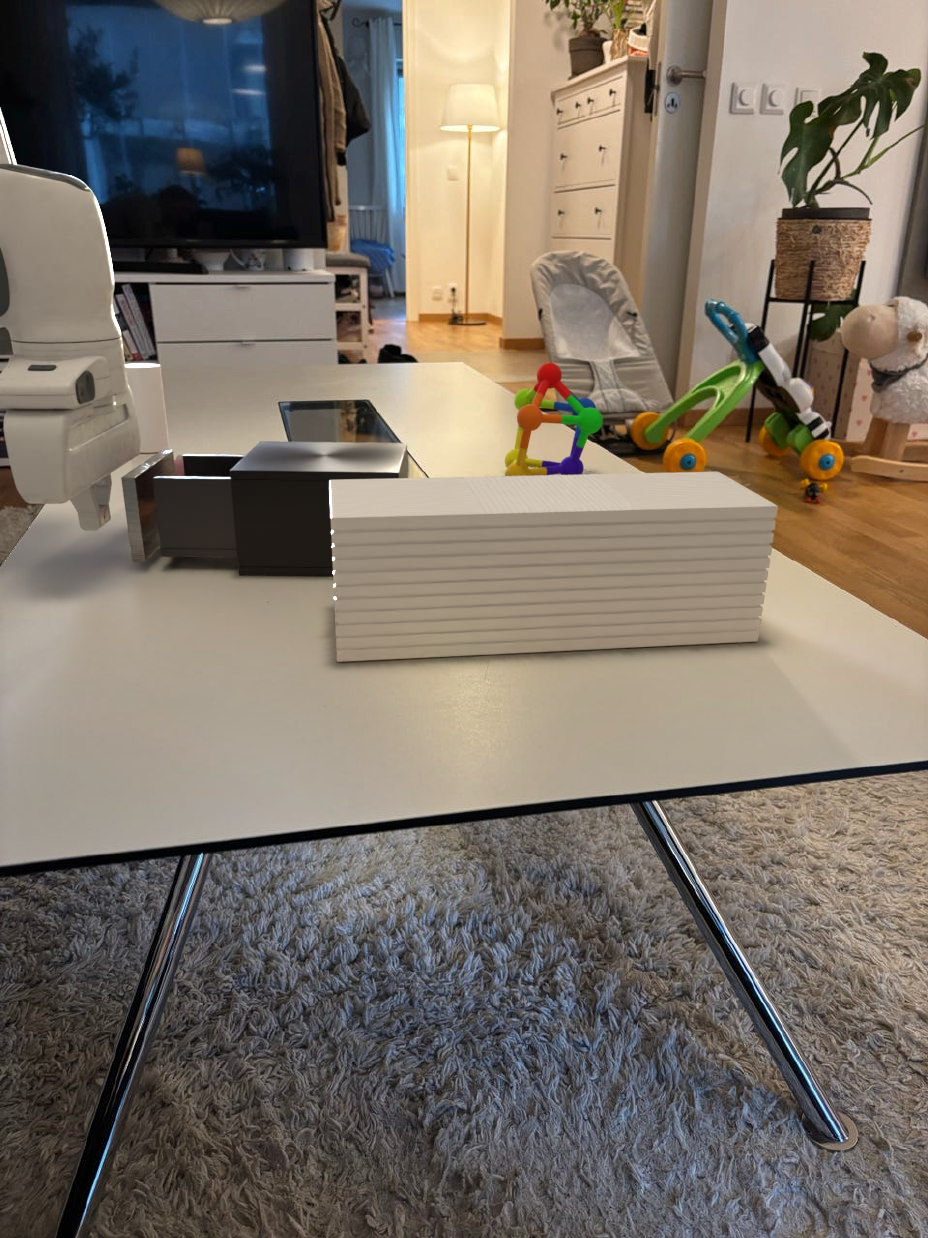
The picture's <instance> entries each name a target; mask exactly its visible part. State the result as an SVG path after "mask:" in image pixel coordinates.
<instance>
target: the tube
mask: <svg viewBox="0 0 928 1238" xmlns="http://www.w3.org/2000/svg"><path fill="white" fill-rule="evenodd" d="M125 365H126V373H127V380H128V385H129V387H130V389H131V392H132V395H133V399H134V403H135V408H136V413H137V418H138V424H139V430H140V436H141V449H140V454H139V455H138V456H136V457H135V458H133V459H132V460H131V466H132V467H131V468H132V470H133V469H134V468H136V467H137V466H139V465H140V464H142V463H143V462H145V461H146V460H148V459H149V458H151V457H152V456H154V455H155V454H157V453H158V452H159V451H161V450H170V439H169V430H168V422H167V421H168V420H167V412H166V403H165V395H164V394H165V393H164V386H163V378H162V377H163V375H162V368H161V366H162V365H161V364H159V363H150V362H149V363H148V362H140V363H139V362H137V363H125Z"/></svg>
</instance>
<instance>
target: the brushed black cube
mask: <svg viewBox="0 0 928 1238" xmlns="http://www.w3.org/2000/svg"><path fill="white" fill-rule="evenodd" d="M244 455H245V456H244V457H243V458H242V459H241V460H240V461H239V462H238V463H237V464H236V465H235V466H234V467H233V468H232V469H231V470H230V478H231V489H232V501H233V513H234V524H235V536H236V548H237V570H238V575H239V576H288V577H289V576H292V577H293V576H295V577H297V576H298V577H301V576H304V577H333V560H332V537H331V513H330V489H329V480H344V479H392V478H408V443H407V442H351V441H350V442H349V441H346V442H345V441H344V442H342V441H278V440H277V441H275V440H274V441H272V440H271V441H270V440H269V441H267V440H266V441H264V440H260V441H259V442H258V443H256V444H255V446H253V447H252V448H251V449H250V450H249V451H248V452H247V453H246V454H244Z"/></svg>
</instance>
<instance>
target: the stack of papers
mask: <svg viewBox="0 0 928 1238" xmlns="http://www.w3.org/2000/svg"><path fill="white" fill-rule="evenodd" d="M329 489H330V513H331V537H332V560H333V576H332V578H333V582H332V583H333V602H334V603H333V605H334V624H335V626H334V627H335V648H336V649H335V650H336V651H335V652H336V662H337V663H339V662H341V663H342V662H362V661H364V662H365V661H382V660H383V661H385V660H399V659H400V660H401V659H404V660H405V659H419V658H420V659H422V658H423V659H424V658H441V657H442V658H443V657H461V656H462V657H465V656H481V655H482V656H483V655H486V656H487V655H489V656H490V655H506V654H507V655H508V654H527V653H546V652H547V653H548V652H550V653H551V652H567V651H587V650H588V651H589V650H590V651H591V650H608V649H626V648H628V649H629V648H648V647H649V648H650V647H651V648H652V647H667V646H691V645H692V646H693V645H712V644H729V643H731V644H732V643H749V642H751V643H752V642H759V637H760V630H759V629H760V628H761V624H762V619H761V618H760V617H762V616H763V611H764V607H763V606H762V605H765V604H764V603H765V594H763V593H766V590H767V583H766V582H765V581H768V575H769V570H767V569H769V568H770V564H771V558H770V557H771V555H772V549H773V545H771V544H773V543H774V537H775V533H774V532H772V531H775V530H776V523H777V521H776V520H775V519H774V518H777V517H778V510H779V506H778V505H777V504H775V503H773V502H772V501H770V500H768V499H766V498H765V497H763V496H762V495H760V494H758V493H757V492H755V491H753V490H751V489H749V488H747V487H746V486H744V485H743V484H740V483H739V482H737V481H736V480H734V479H732V478H730V477H728V475H727V476H726V475H725V474H723V473H721V472H720V471H692V472H691V471H687V472H686V471H685V472H684V471H682V472H641V473H640V472H637V473H635V472H634V473H633V472H632V473H595V474H594V473H591V474H589V473H588V474H582V475H561V474H553V475H539V476H538V475H535V476H506V475H499V476H498V475H495V476H494V475H493V476H490V475H489V476H451V477H450V476H449V477H448V476H447V477H446V476H444V477H443V476H442V477H407V478H392V479H344V480H329Z"/></svg>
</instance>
